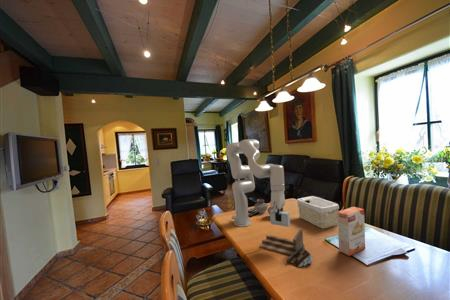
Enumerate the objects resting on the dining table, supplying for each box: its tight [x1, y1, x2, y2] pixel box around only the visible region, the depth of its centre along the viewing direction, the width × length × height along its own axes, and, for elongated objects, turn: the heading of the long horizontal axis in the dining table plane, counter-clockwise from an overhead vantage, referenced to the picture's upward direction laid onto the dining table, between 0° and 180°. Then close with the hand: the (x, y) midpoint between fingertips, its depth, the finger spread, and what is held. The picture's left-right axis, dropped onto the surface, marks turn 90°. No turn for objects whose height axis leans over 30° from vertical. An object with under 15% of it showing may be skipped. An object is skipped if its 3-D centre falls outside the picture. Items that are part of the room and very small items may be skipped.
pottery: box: [253, 198, 278, 216], centre depth 154 cm, size 11×25×12 cm, turn 33°
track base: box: [259, 228, 304, 257], centre depth 107 cm, size 20×14×9 cm
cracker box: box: [337, 206, 366, 257], centre depth 98 cm, size 14×6×21 cm, turn 117°
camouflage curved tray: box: [286, 243, 313, 268], centre depth 92 cm, size 10×7×12 cm
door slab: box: [269, 210, 291, 228], centre depth 107 cm, size 10×3×7 cm, turn 55°
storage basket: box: [296, 195, 340, 230], centre depth 135 cm, size 24×16×15 cm
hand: (279, 219), depth 107 cm, fingers closed on door slab, 3 cm apart
